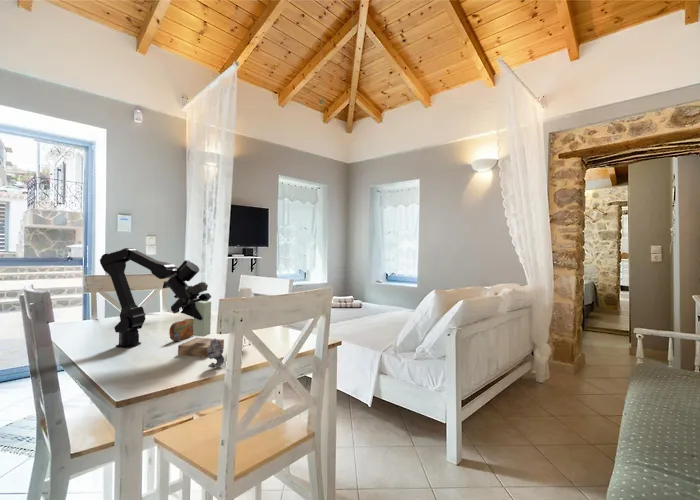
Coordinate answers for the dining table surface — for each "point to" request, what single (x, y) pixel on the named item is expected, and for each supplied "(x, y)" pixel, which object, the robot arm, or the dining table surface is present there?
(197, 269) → the robot arm
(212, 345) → the grey lumpy figurine
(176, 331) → the tin
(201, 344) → the walnut block
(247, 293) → the champagne flute
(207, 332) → the sage block
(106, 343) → the dining table surface
